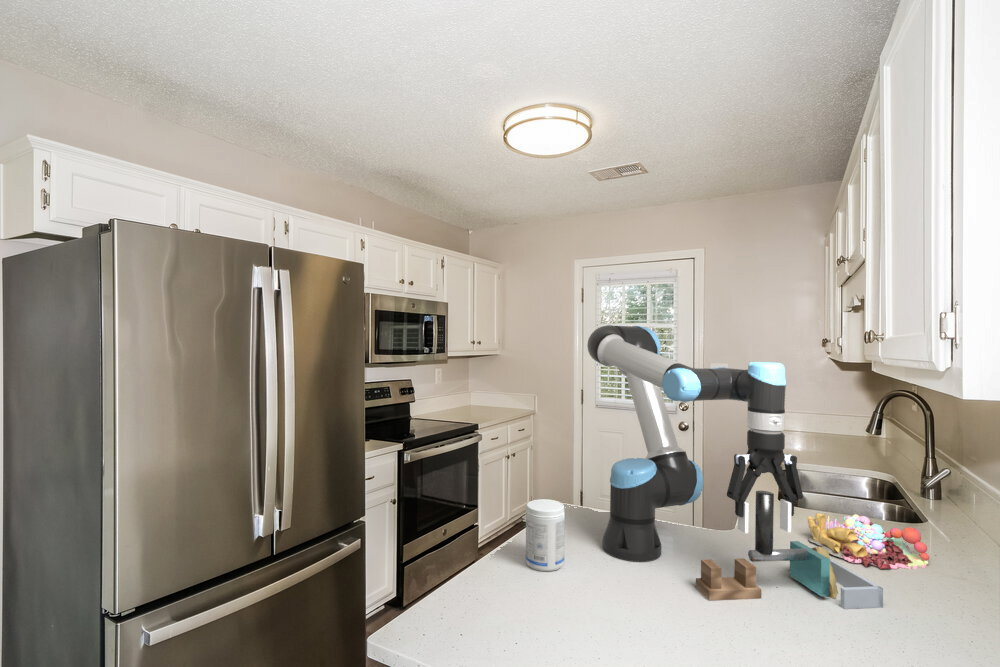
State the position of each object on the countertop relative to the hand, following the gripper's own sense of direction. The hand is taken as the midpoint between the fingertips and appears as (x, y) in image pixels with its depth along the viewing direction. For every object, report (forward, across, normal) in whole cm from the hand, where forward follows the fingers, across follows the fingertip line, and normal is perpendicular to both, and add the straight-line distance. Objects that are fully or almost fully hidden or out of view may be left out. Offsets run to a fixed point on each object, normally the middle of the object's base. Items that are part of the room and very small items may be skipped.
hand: (764, 530), depth 115 cm
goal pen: (+14, +17, 0) cm, 22 cm away
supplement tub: (+14, -46, +17) cm, 51 cm away
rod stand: (+14, -8, 0) cm, 16 cm away
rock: (+14, +16, +1) cm, 21 cm away
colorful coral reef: (+14, +42, +20) cm, 49 cm away
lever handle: (+13, +4, 0) cm, 13 cm away
